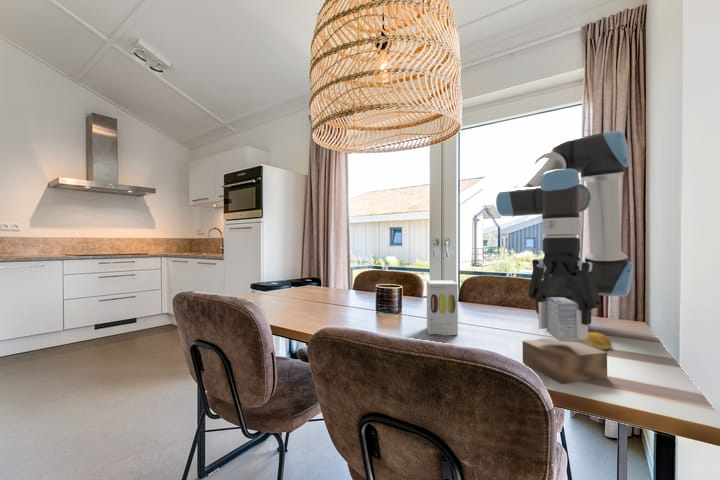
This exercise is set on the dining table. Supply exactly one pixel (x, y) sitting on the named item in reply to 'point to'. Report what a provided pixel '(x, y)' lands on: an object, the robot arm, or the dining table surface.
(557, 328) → the medicine box
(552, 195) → the robot arm
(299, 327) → the dining table surface
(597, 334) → the bread roll
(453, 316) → the supplement box
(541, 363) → the walnut block
